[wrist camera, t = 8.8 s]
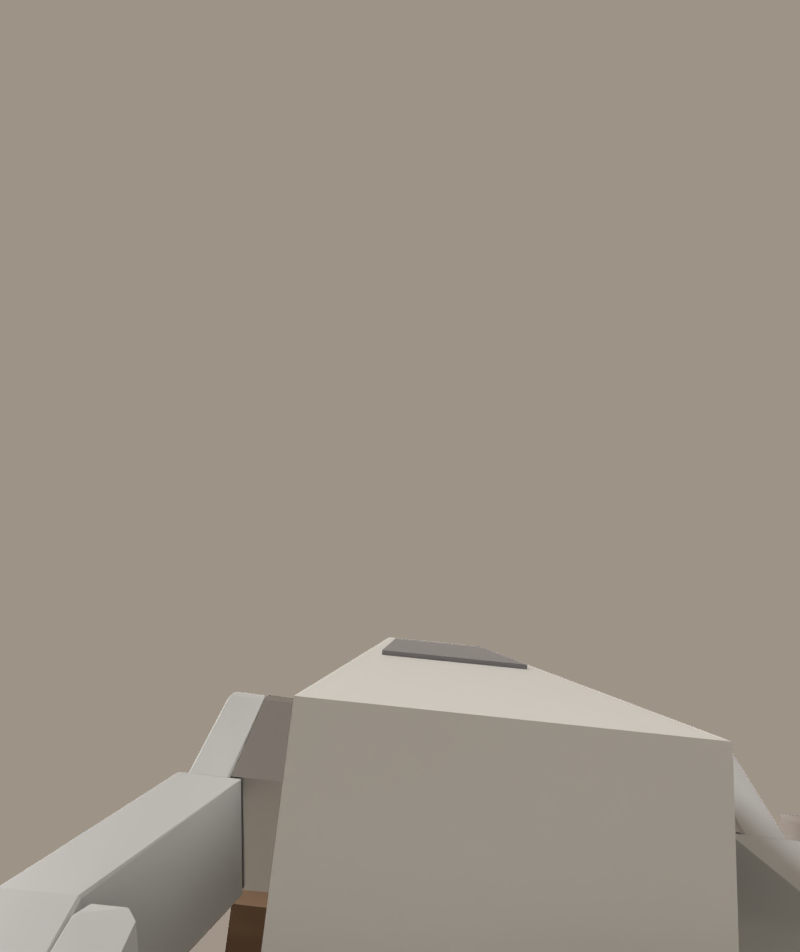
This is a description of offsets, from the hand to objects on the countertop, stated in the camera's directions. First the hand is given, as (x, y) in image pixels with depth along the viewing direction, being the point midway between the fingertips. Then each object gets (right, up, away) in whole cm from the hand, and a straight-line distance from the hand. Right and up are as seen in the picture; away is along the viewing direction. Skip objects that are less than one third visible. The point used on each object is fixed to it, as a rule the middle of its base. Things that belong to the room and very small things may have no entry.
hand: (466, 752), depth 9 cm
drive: (0, -4, +7) cm, 7 cm away
